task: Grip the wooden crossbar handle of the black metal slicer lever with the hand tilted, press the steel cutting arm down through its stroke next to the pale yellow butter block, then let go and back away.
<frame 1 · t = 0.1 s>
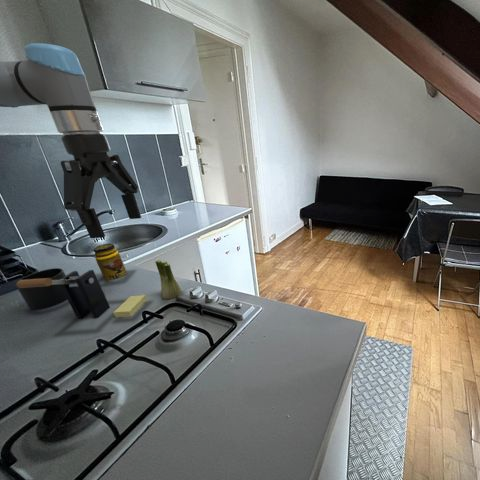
hand: (118, 227, 64), 22 cm above the worktop, tool pointing down, fingers open, 13 cm apart
fennel bulb: (173, 299, 74), on the worktop
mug: (55, 302, 76), on the worktop
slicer: (96, 317, 68), on the worktop
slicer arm: (60, 282, 59), point 13 cm above the worktop, hinge at 30.0°
condiment: (114, 280, 86), on the worktop
butter: (133, 312, 69), on the worktop
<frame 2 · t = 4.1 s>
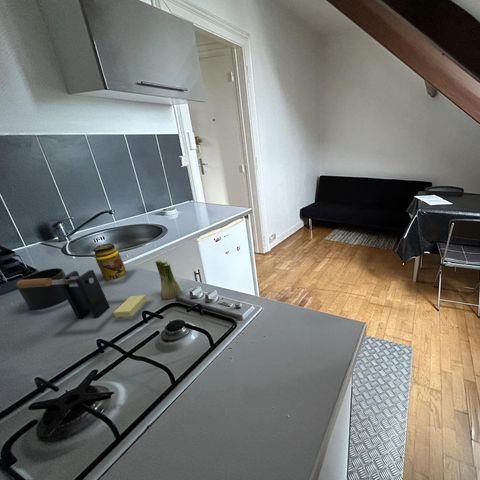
nothing on the worktop moved.
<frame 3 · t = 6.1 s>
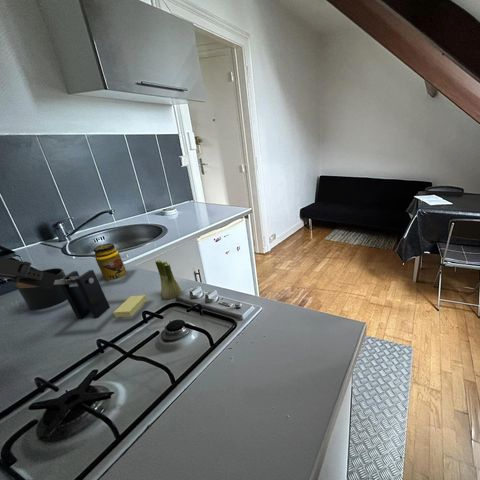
hand: (17, 284, 50), 17 cm above the worktop, tool tilted 45°, fingers open, 13 cm apart
nothing on the worktop moved.
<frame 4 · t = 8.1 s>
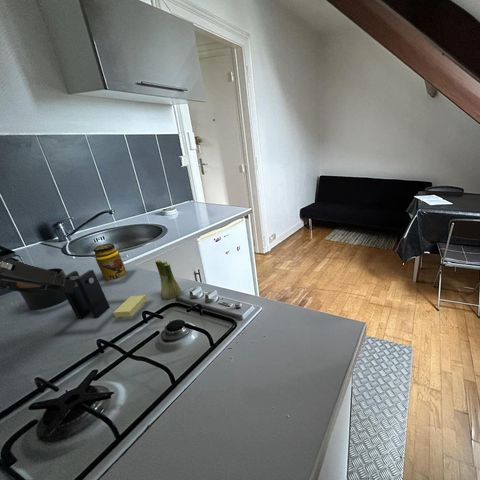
hand: (58, 288, 58), 12 cm above the worktop, tool tilted 45°, fingers closed on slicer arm, 5 cm apart
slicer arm: (60, 282, 59), point 13 cm above the worktop, hinge at 30.0°, touching gripper
everything else where it was.
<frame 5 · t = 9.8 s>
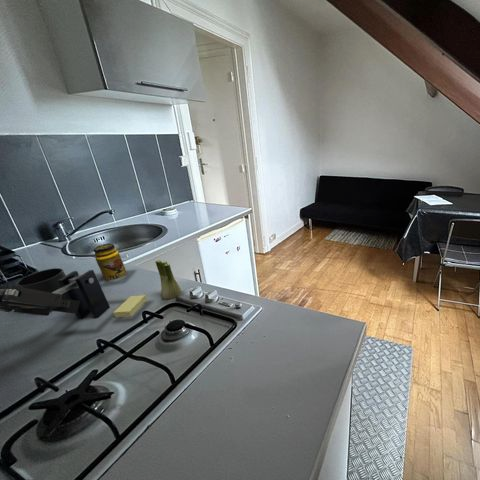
hand: (62, 308, 59), 8 cm above the worktop, tool tilted 45°, fingers closed on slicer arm, 5 cm apart
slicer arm: (61, 290, 59), point 11 cm above the worktop, hinge at 4.8°, touching gripper
everything else where it was.
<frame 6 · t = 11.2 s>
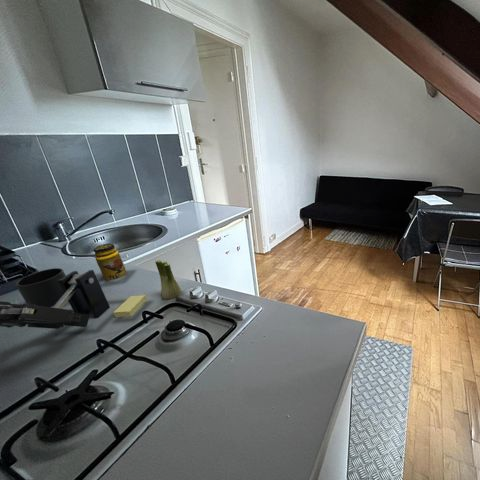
hand: (73, 321, 61), 3 cm above the worktop, tool tilted 45°, fingers closed on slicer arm, 5 cm apart
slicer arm: (66, 297, 60), point 10 cm above the worktop, hinge at -18.5°, touching gripper
everything else where it was.
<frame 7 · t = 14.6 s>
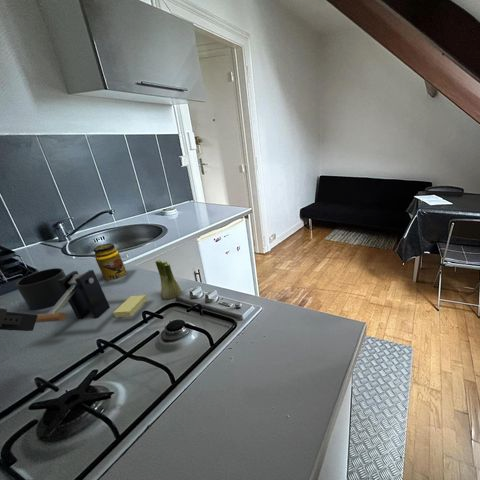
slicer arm: (66, 297, 60), point 9 cm above the worktop, hinge at -18.6°
everything else where it was.
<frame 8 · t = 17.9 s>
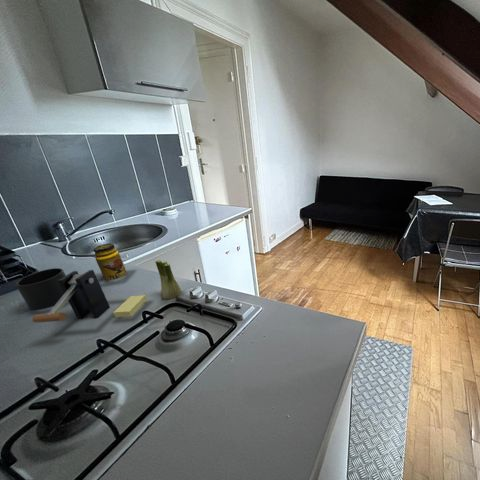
nothing on the worktop moved.
at the end: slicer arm at -19° (first picture: +30°); butter moved 0.0 cm from its start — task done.
